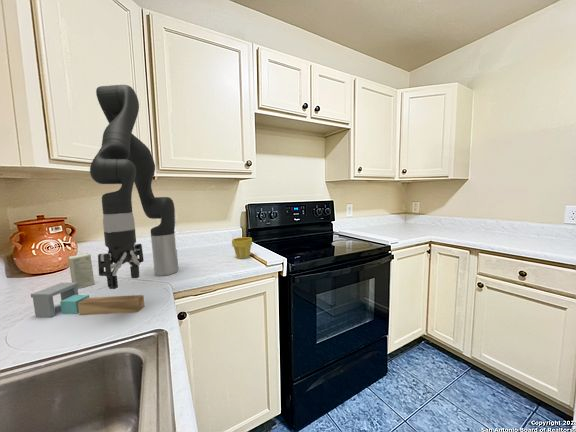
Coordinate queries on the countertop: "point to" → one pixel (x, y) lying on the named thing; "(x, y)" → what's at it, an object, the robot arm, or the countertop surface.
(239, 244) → the plant pot
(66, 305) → the block
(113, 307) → the rod
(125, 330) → the countertop surface
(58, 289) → the tunnel
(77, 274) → the skincare box
